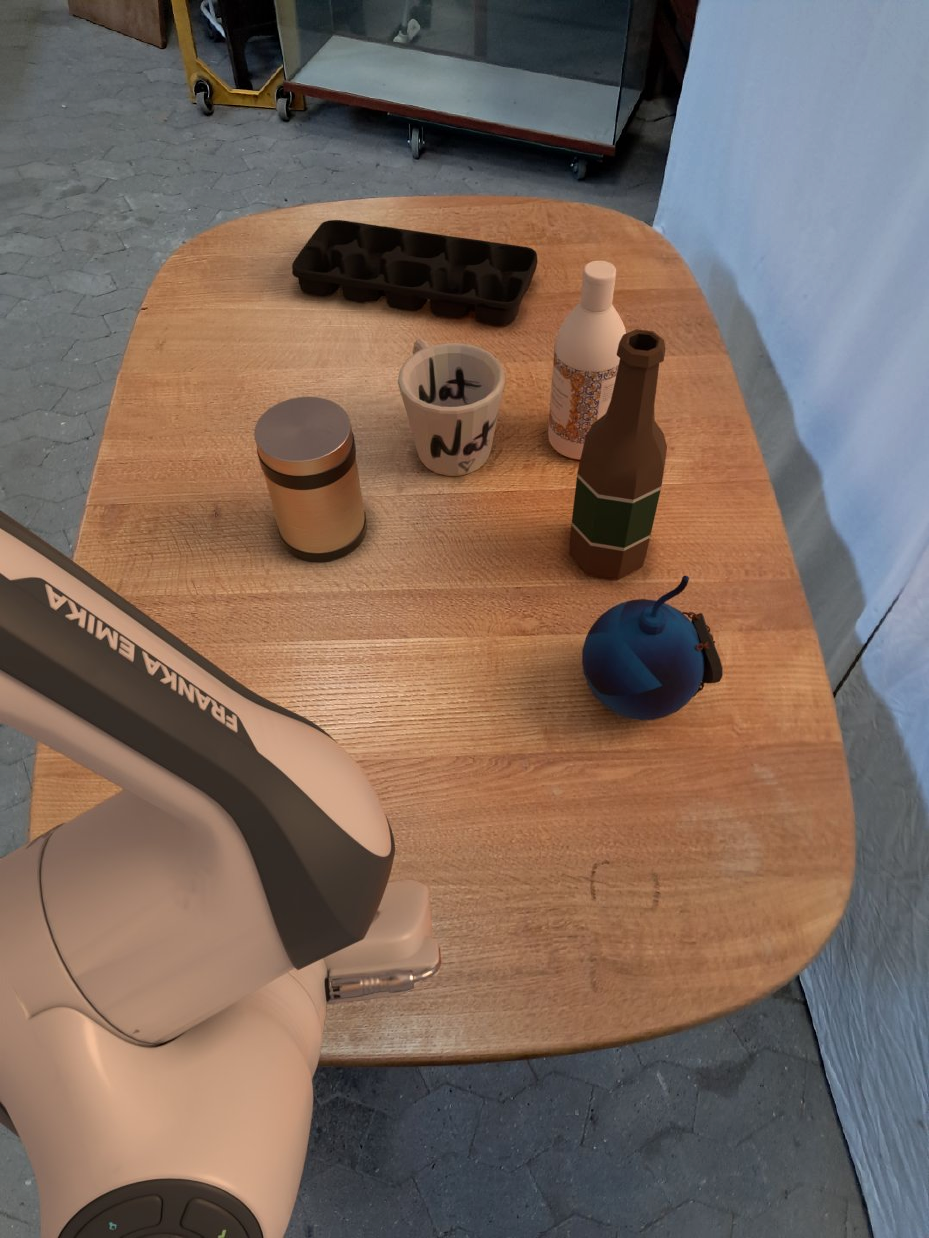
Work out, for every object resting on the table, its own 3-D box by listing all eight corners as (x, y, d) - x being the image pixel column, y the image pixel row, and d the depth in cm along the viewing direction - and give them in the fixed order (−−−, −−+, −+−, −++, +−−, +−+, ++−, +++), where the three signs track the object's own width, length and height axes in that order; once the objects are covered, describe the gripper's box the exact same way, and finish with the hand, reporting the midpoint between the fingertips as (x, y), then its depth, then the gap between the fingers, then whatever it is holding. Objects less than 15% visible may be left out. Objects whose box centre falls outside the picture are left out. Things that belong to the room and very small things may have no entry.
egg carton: (310, 243, 120) (305, 216, 117) (537, 249, 118) (539, 222, 115) (285, 324, 109) (279, 296, 106) (534, 331, 108) (535, 304, 105)
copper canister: (294, 573, 86) (268, 474, 76) (269, 513, 91) (241, 411, 80) (379, 545, 88) (365, 445, 77) (350, 487, 93) (333, 385, 82)
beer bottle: (593, 510, 90) (623, 297, 71) (662, 544, 87) (714, 332, 68) (551, 559, 87) (571, 348, 67) (622, 595, 84) (664, 387, 64)
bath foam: (536, 429, 97) (546, 259, 81) (592, 410, 99) (613, 240, 83) (567, 470, 94) (584, 300, 78) (625, 449, 95) (654, 279, 79)
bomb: (720, 731, 75) (766, 624, 63) (592, 749, 74) (613, 644, 62) (685, 636, 81) (721, 521, 69) (566, 652, 80) (581, 539, 68)
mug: (427, 499, 91) (422, 423, 83) (375, 410, 100) (365, 333, 92) (520, 468, 94) (524, 391, 86) (462, 384, 102) (460, 307, 94)
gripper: (437, 923, 46) (428, 824, 60) (26, 969, 45) (112, 858, 59) (448, 1037, 47) (436, 914, 61) (45, 1086, 46) (126, 949, 59)
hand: (275, 887), depth 60 cm, fingers closed on pill bottle, 5 cm apart
